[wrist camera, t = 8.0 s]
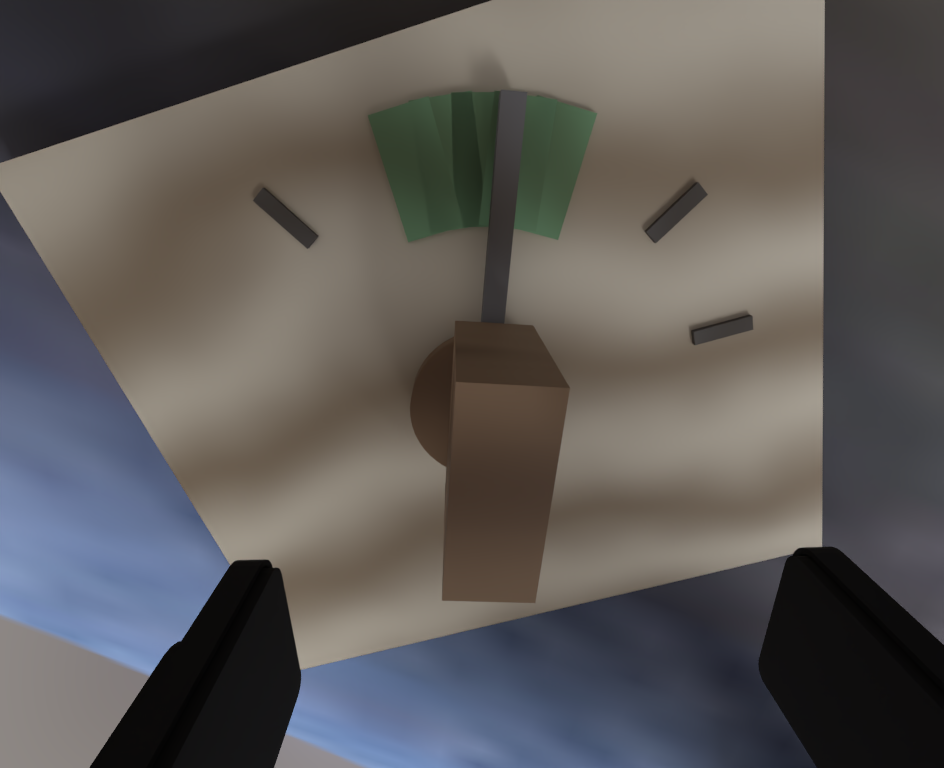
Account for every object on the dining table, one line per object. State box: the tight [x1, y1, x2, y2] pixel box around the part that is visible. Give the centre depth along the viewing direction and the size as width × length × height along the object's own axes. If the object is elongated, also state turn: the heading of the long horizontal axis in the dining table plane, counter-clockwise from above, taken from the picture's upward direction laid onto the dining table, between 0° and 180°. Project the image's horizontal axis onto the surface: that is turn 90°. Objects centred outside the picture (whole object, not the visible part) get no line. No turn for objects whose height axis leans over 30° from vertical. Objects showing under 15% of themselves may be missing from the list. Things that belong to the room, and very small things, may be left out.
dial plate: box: [0, 0, 825, 670], centre depth 18 cm, size 22×24×2 cm
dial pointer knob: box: [410, 90, 570, 603], centre depth 13 cm, size 12×5×6 cm, turn 176°
